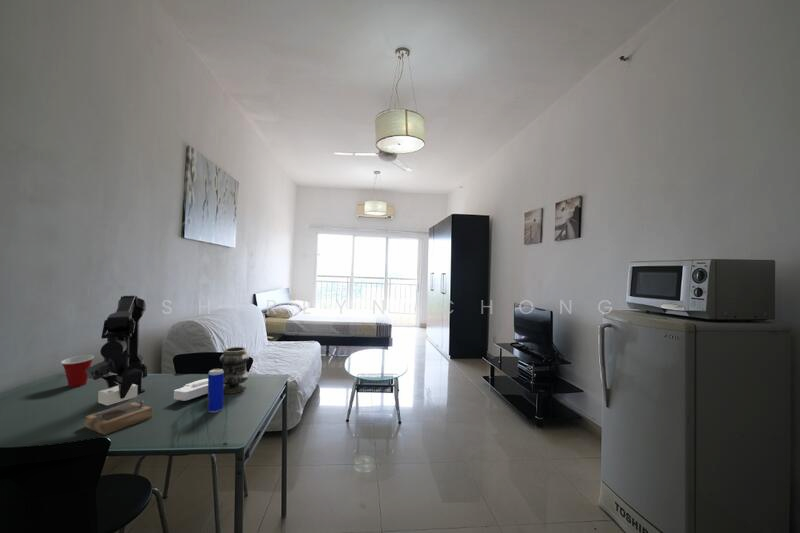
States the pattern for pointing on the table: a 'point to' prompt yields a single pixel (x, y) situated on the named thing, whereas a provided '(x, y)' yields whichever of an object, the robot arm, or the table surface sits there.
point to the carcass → (118, 417)
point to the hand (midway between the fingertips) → (117, 396)
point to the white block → (115, 395)
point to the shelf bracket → (192, 390)
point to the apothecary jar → (234, 369)
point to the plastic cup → (77, 369)
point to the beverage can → (215, 390)
